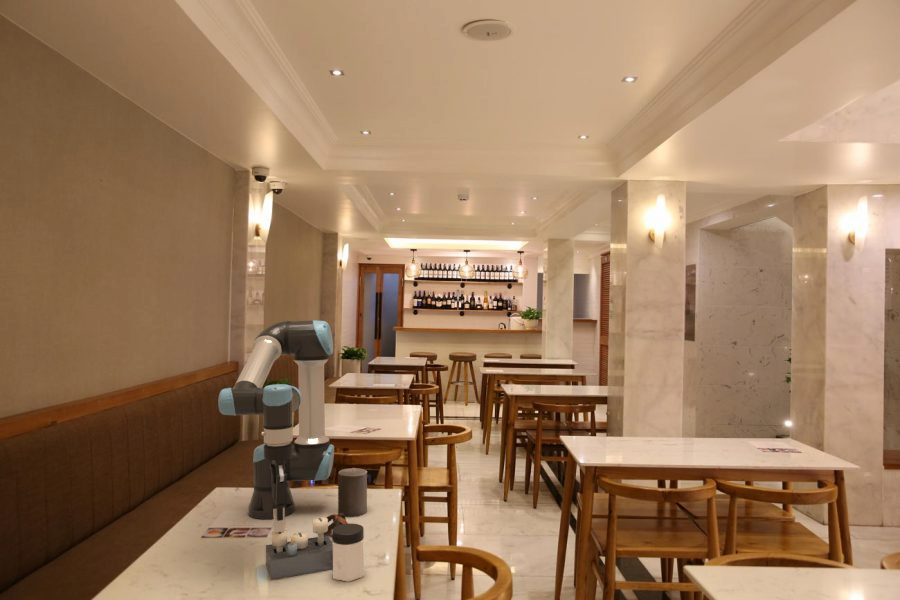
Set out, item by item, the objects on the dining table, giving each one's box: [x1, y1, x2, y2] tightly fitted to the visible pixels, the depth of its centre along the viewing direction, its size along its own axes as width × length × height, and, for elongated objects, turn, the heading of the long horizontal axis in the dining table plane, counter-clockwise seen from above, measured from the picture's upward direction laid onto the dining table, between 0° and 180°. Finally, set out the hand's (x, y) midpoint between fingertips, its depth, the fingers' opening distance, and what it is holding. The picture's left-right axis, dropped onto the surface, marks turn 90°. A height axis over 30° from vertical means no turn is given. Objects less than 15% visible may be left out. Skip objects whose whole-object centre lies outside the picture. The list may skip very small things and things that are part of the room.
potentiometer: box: [288, 536, 297, 556], centre depth 166 cm, size 2×2×4 cm
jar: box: [331, 522, 365, 583], centre depth 164 cm, size 9×8×12 cm
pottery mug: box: [324, 513, 349, 538], centre depth 190 cm, size 12×10×8 cm
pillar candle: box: [337, 467, 368, 518], centre depth 212 cm, size 10×10×15 cm
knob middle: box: [292, 531, 309, 549], centre depth 170 cm, size 4×4×8 cm
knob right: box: [312, 516, 329, 546], centre depth 173 cm, size 4×4×8 cm
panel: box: [265, 535, 333, 581], centre depth 170 cm, size 11×17×5 cm, turn 113°
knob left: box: [271, 529, 288, 553], centre depth 168 cm, size 4×4×8 cm
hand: (279, 530), depth 168 cm, fingers closed
